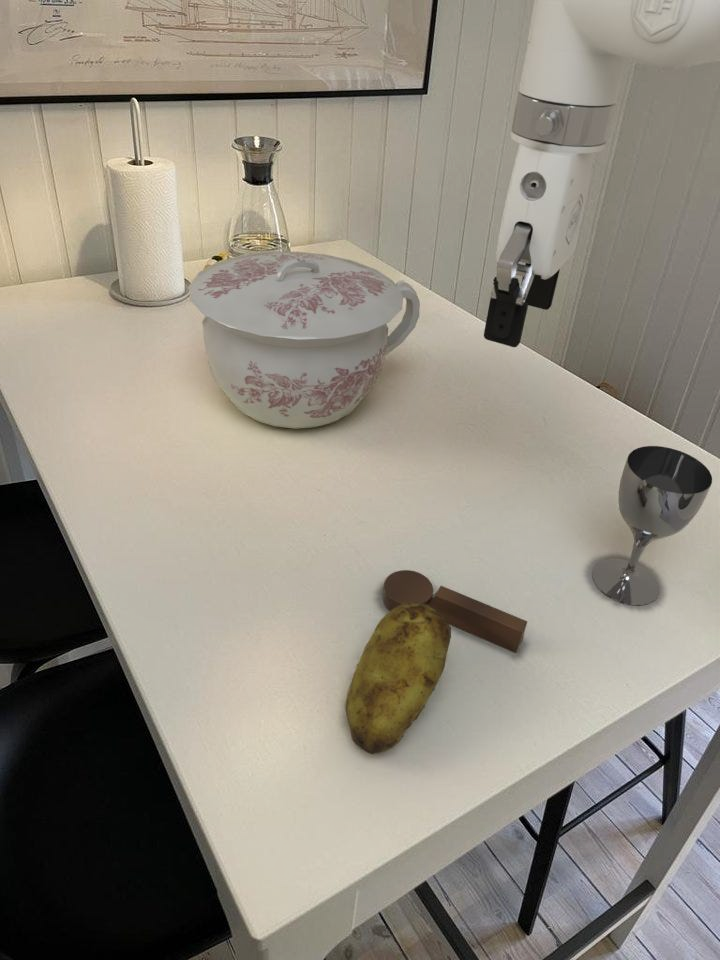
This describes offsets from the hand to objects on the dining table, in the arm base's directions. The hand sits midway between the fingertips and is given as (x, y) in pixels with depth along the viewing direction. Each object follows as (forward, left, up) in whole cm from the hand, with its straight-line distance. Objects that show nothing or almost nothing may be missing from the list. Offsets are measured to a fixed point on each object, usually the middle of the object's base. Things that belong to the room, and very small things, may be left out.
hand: (518, 322), depth 70 cm
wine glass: (-17, -2, -26) cm, 32 cm away
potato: (-2, +25, -26) cm, 36 cm away
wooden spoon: (-2, +13, -26) cm, 29 cm away
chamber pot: (+32, -14, -26) cm, 44 cm away
